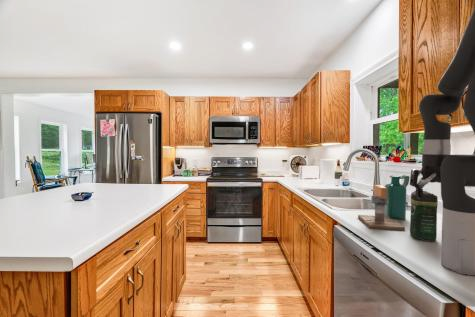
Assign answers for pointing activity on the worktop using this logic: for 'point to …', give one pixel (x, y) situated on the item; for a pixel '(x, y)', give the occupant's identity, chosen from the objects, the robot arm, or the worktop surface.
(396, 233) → the worktop surface
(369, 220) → the stand
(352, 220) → the worktop surface
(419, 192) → the robot arm
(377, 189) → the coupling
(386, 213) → the square teal bottle
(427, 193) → the coffee jar
